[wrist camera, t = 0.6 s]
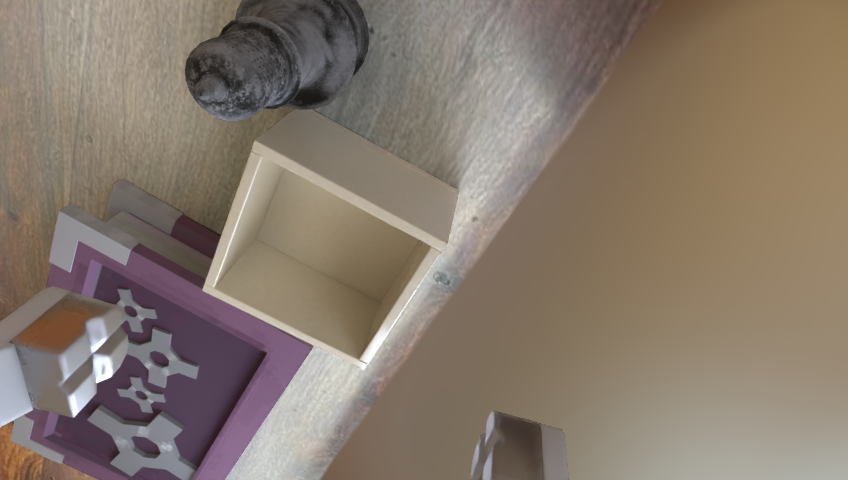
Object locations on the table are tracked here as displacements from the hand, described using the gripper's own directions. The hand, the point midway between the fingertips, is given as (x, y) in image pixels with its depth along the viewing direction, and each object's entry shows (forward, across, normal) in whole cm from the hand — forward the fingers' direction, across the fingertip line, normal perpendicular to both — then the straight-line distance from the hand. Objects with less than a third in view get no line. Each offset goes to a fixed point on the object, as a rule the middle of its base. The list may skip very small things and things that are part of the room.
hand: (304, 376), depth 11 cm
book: (+20, +15, +24) cm, 35 cm away
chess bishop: (+20, +7, -2) cm, 21 cm away
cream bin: (+20, +4, +8) cm, 22 cm away
